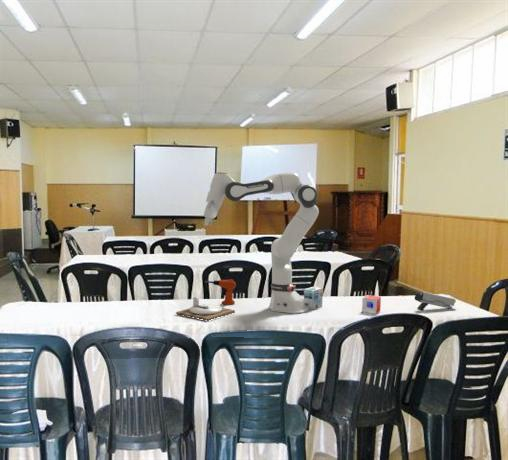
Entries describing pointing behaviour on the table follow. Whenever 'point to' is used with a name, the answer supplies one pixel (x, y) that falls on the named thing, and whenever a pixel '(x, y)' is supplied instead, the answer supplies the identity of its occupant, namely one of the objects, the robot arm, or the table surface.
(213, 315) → the cardboard mat
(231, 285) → the toy drill
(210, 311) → the dial
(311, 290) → the light bulb box
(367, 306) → the puzzle cube
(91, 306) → the table surface
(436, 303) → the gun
